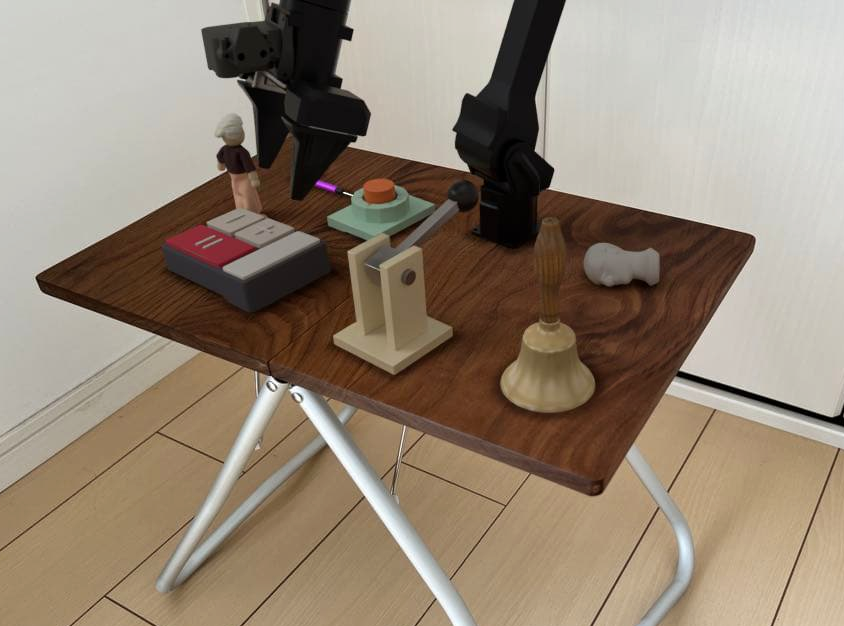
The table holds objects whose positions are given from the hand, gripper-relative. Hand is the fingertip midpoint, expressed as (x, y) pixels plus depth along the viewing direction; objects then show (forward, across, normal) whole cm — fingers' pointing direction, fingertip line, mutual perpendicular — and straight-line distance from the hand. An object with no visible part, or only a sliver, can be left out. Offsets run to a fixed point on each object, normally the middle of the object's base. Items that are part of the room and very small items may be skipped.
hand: (279, 183), depth 80 cm
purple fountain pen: (+7, -24, +18) cm, 31 cm away
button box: (+6, -14, +19) cm, 24 cm away
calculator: (+13, -11, +3) cm, 17 cm away
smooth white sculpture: (+2, +12, +33) cm, 35 cm away
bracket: (+11, +10, +10) cm, 18 cm away
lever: (+1, +8, +12) cm, 15 cm away
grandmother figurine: (+11, -23, +6) cm, 26 cm away
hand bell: (+8, +23, +19) cm, 31 cm away
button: (+4, -14, +18) cm, 23 cm away
